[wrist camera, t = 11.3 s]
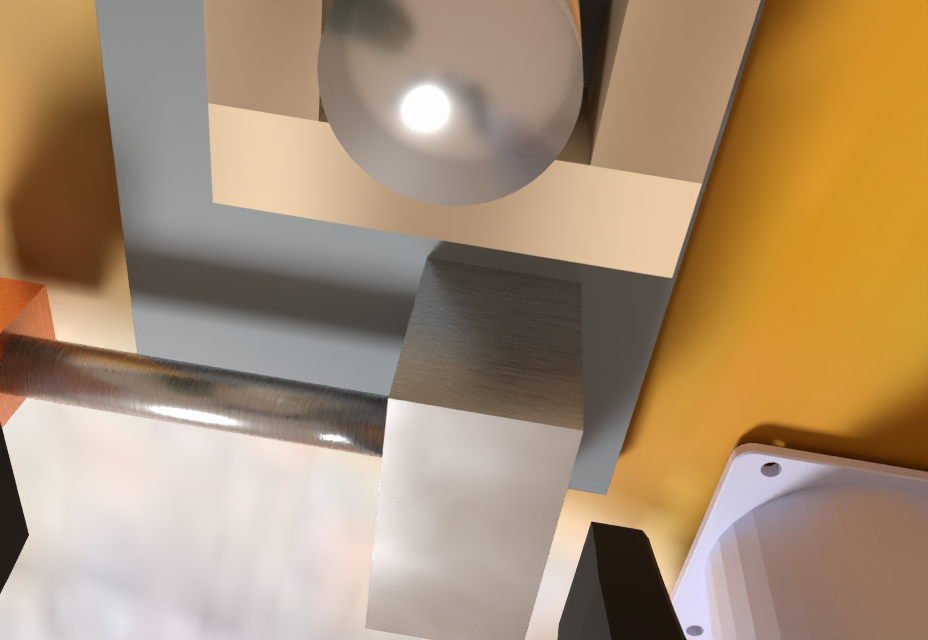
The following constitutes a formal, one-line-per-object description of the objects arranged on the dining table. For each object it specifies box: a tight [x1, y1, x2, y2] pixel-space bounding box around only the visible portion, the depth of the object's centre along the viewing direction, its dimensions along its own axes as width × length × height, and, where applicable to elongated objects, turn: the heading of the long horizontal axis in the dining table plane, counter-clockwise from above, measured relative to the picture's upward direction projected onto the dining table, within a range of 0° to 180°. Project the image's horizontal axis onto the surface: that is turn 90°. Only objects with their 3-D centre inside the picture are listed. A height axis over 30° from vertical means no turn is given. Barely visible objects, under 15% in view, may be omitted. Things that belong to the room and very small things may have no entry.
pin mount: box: [365, 258, 584, 640], centre depth 19 cm, size 4×7×5 cm, turn 173°
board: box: [95, 0, 766, 495], centre depth 18 cm, size 12×18×1 cm
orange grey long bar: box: [0, 278, 389, 458], centre depth 19 cm, size 13×2×4 cm, turn 83°
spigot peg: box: [317, 0, 583, 206], centre depth 13 cm, size 3×3×7 cm
